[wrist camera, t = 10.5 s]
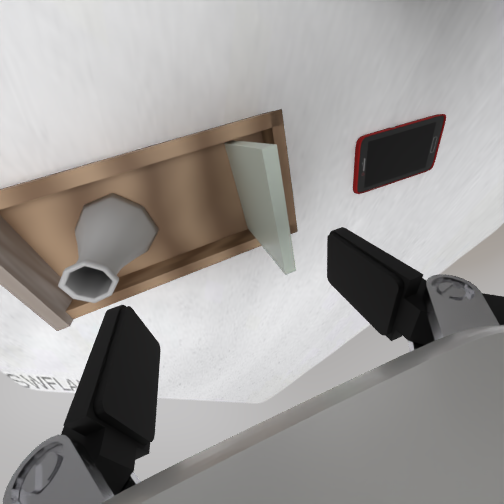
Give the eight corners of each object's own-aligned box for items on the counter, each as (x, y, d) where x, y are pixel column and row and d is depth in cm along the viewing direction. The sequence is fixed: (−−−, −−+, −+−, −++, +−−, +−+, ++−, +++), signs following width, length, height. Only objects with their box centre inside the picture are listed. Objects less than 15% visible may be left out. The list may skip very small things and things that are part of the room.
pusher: (233, 140, 22) (276, 144, 13) (254, 225, 27) (295, 270, 18) (224, 143, 21) (261, 149, 12) (247, 228, 27) (285, 274, 18)
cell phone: (427, 168, 34) (433, 169, 33) (350, 194, 32) (355, 195, 31) (441, 112, 30) (448, 112, 29) (354, 137, 28) (359, 137, 27)
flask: (126, 269, 25) (104, 337, 16) (59, 228, 21) (-16, 292, 12) (171, 228, 24) (170, 277, 16) (110, 178, 20) (67, 209, 12)
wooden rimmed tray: (265, 112, 22) (286, 108, 18) (283, 220, 30) (301, 234, 25) (-26, 197, 18) (-84, 215, 14) (75, 299, 25) (57, 331, 21)
